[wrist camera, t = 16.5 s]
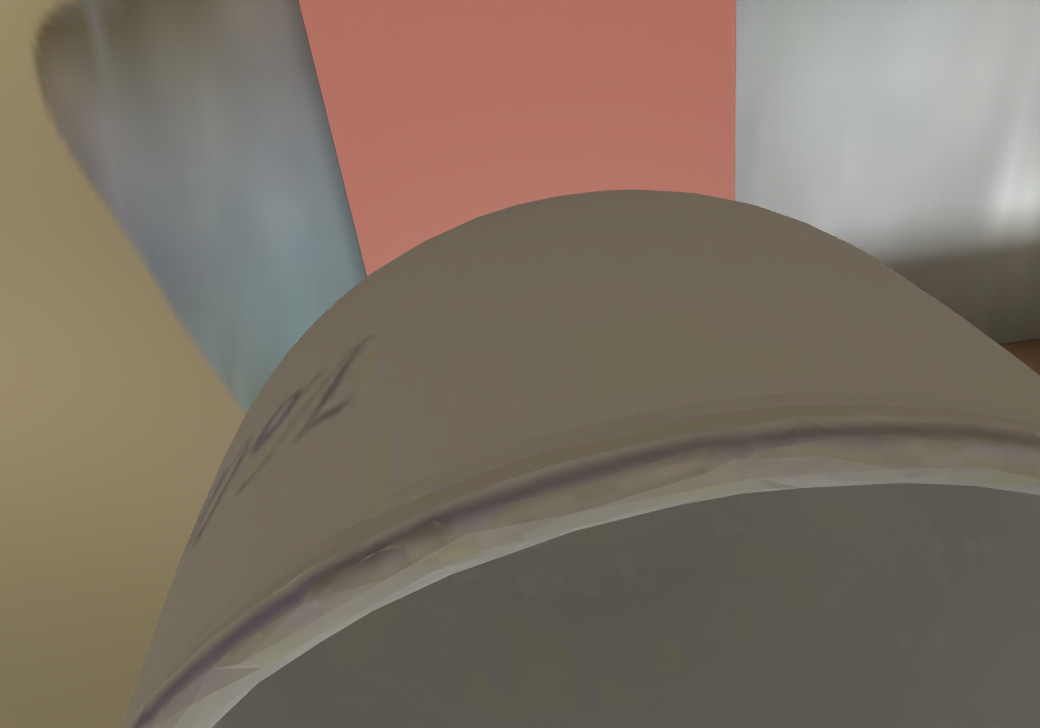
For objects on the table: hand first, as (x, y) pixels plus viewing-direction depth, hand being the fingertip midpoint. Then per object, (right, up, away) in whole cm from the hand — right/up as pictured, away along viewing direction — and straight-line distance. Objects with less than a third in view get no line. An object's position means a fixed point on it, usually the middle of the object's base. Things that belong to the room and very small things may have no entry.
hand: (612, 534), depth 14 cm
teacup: (0, 0, +1) cm, 1 cm away
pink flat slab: (+5, +10, +14) cm, 18 cm away
